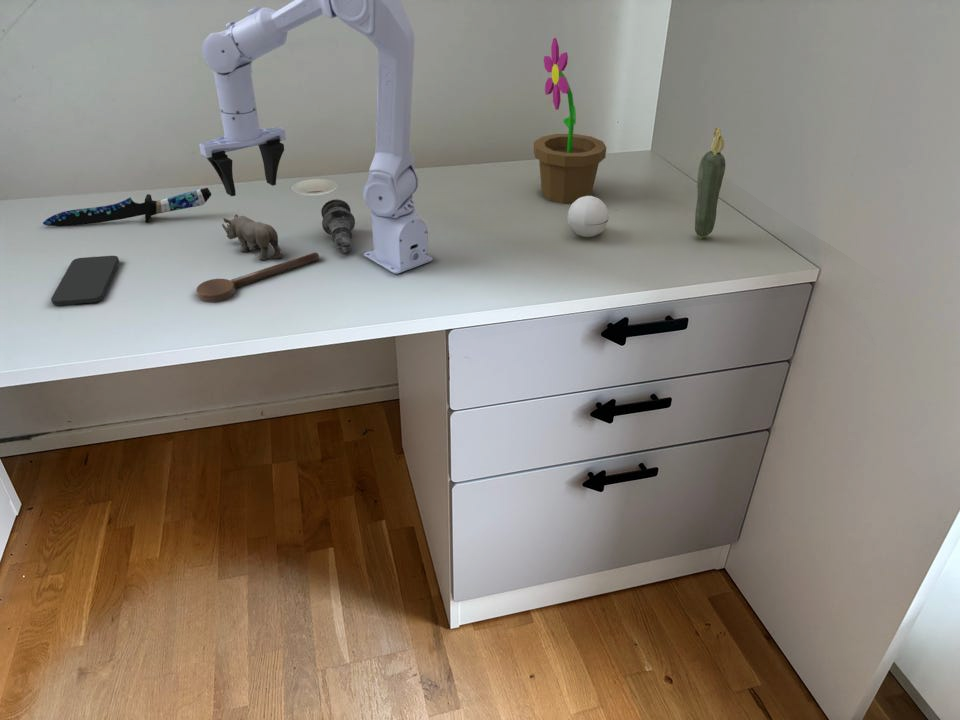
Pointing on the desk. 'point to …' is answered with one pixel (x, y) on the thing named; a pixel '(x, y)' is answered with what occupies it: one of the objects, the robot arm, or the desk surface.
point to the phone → (85, 280)
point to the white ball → (588, 216)
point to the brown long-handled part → (246, 279)
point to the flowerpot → (566, 144)
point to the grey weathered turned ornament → (338, 223)
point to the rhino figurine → (253, 235)
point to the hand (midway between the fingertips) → (251, 189)
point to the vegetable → (709, 186)
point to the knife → (129, 209)
